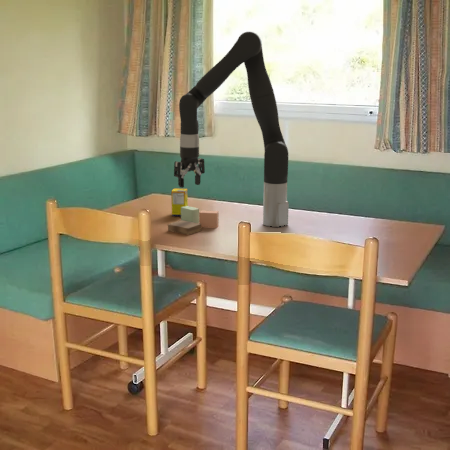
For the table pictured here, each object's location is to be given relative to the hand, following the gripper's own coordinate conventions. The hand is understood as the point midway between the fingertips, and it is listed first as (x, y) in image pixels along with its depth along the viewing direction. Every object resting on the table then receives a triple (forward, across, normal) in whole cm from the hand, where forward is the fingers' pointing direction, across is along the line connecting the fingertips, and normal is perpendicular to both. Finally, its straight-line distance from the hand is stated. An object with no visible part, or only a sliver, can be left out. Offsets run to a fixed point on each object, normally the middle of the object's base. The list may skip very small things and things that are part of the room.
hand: (189, 185), depth 253 cm
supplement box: (+15, +5, +12) cm, 20 cm away
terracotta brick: (+15, +1, -10) cm, 18 cm away
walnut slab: (+15, -10, -8) cm, 20 cm away
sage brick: (+15, 0, 0) cm, 15 cm away
